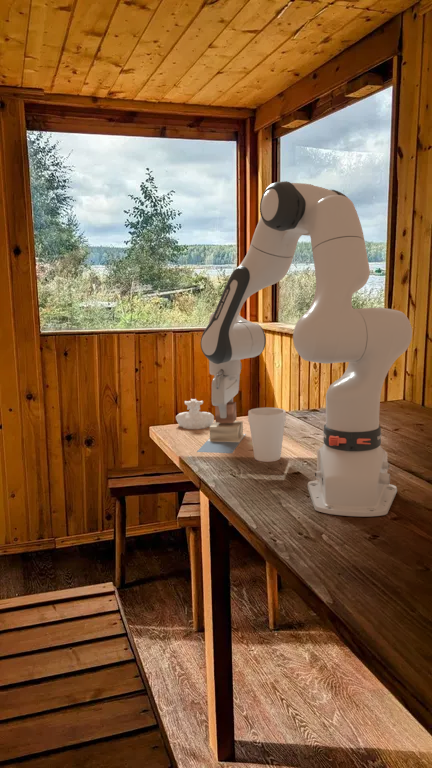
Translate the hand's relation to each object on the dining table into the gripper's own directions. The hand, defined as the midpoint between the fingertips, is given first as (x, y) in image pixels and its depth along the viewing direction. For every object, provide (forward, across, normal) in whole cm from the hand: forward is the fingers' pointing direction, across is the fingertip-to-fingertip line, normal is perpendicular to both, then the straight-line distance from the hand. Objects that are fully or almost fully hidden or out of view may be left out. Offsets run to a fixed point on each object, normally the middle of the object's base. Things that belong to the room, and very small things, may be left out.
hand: (226, 415), depth 171 cm
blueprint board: (+8, -5, 0) cm, 9 cm away
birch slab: (+6, 0, 0) cm, 7 cm away
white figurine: (+8, +11, +12) cm, 18 cm away
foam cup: (+8, -18, -14) cm, 24 cm away
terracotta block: (+2, 0, 0) cm, 2 cm away
